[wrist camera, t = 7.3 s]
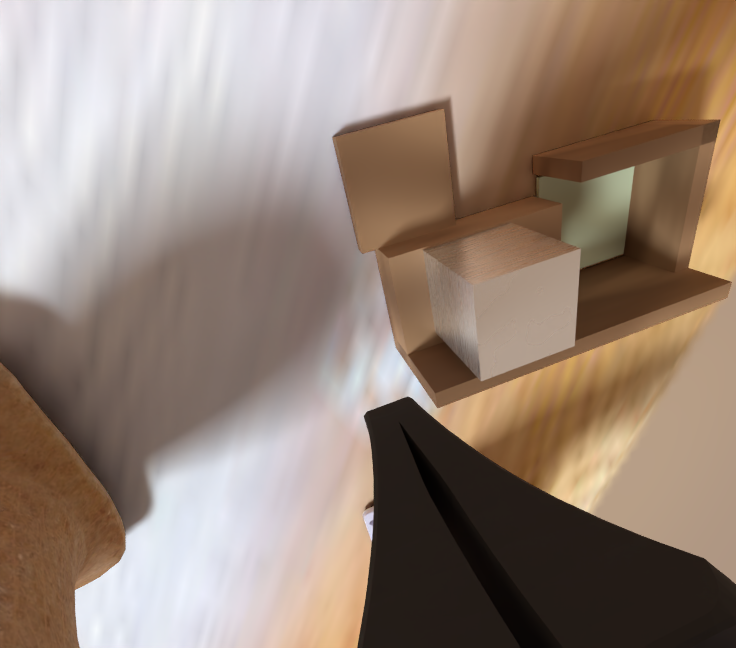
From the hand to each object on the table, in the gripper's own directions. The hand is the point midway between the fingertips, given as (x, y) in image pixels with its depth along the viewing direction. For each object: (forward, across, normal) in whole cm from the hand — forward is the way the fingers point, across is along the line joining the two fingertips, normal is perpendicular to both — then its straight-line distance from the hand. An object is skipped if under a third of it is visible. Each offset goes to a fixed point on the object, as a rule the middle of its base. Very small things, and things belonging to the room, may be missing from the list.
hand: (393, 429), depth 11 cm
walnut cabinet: (+8, -9, -2) cm, 13 cm away
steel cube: (+6, -6, 0) cm, 9 cm away
